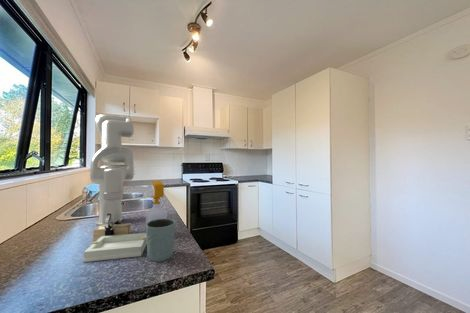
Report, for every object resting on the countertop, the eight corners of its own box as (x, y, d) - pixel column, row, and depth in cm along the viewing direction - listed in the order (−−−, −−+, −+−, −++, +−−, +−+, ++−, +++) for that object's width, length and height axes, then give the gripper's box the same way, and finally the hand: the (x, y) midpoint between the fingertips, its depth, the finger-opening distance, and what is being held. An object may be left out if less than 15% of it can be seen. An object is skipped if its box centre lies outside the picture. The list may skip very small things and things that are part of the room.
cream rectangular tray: (101, 243, 81) (101, 234, 81) (148, 239, 85) (148, 231, 85) (82, 262, 67) (83, 251, 67) (140, 255, 71) (141, 245, 71)
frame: (99, 236, 89) (99, 225, 89) (130, 234, 92) (130, 223, 92) (93, 242, 84) (93, 230, 84) (127, 239, 87) (127, 227, 87)
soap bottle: (161, 229, 98) (161, 179, 98) (170, 234, 91) (170, 181, 91) (142, 234, 91) (143, 181, 92) (150, 240, 85) (150, 182, 85)
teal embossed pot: (161, 247, 78) (161, 216, 78) (181, 252, 73) (181, 220, 74) (138, 259, 69) (139, 224, 69) (160, 265, 64) (160, 228, 64)
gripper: (111, 193, 96) (111, 229, 96) (95, 200, 79) (94, 244, 79) (128, 192, 98) (128, 228, 97) (115, 199, 81) (115, 242, 80)
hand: (113, 235), depth 88 cm, fingers open, 7 cm apart
